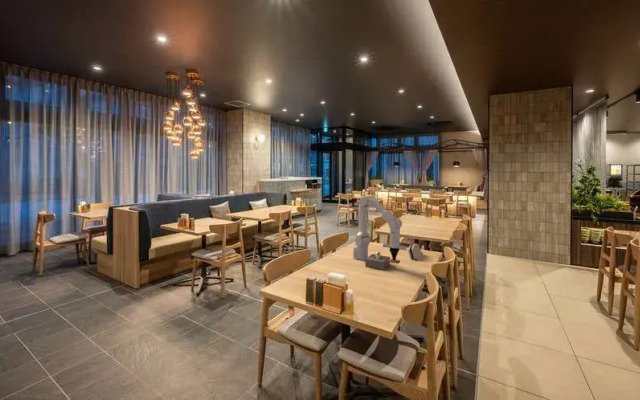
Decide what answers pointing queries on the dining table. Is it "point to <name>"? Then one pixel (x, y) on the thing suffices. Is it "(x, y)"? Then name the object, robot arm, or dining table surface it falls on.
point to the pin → (377, 255)
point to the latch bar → (393, 261)
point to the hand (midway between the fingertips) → (394, 259)
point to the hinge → (415, 252)
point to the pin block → (377, 262)
